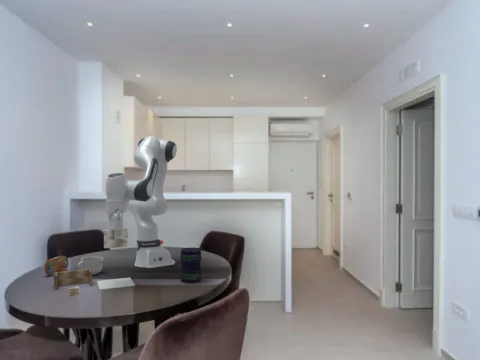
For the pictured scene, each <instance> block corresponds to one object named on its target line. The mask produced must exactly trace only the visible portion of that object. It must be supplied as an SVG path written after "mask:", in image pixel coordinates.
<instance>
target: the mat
mask: <svg viewBox="0 0 480 360" xmlns="http://www.w3.org/2000/svg"><path fill="white" fill-rule="evenodd" d="M96 284H97V287H98V289H99V291H105V290H111V289H120V288H127V287H135V286H136V284H135V282H134V281H133V279H132V278H131V277H123V278H112V279H105V280H104V279H103V280H97V281H96Z"/></svg>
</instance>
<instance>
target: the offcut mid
mask: <svg viewBox="0 0 480 360" xmlns="http://www.w3.org/2000/svg"><path fill="white" fill-rule="evenodd" d="M68 293H69V295H74V294H80V295H81V290H80V289H79V291H74V292H69V291H68Z"/></svg>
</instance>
